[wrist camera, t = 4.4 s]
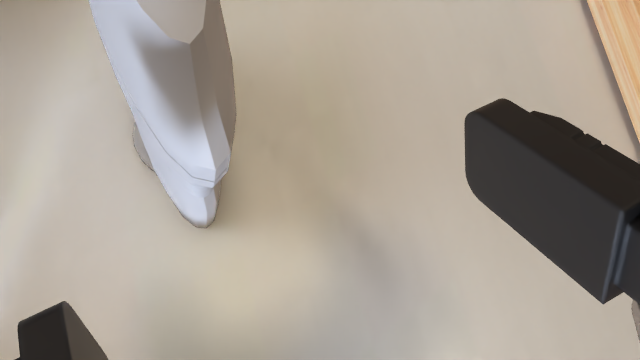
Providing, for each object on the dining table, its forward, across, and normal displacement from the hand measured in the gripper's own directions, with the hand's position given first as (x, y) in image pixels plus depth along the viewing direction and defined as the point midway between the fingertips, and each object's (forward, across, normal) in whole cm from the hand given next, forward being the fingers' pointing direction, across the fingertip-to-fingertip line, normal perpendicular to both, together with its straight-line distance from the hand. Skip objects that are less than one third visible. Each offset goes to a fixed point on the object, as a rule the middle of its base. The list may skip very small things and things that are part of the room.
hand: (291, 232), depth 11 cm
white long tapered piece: (+19, 0, +9) cm, 21 cm away
